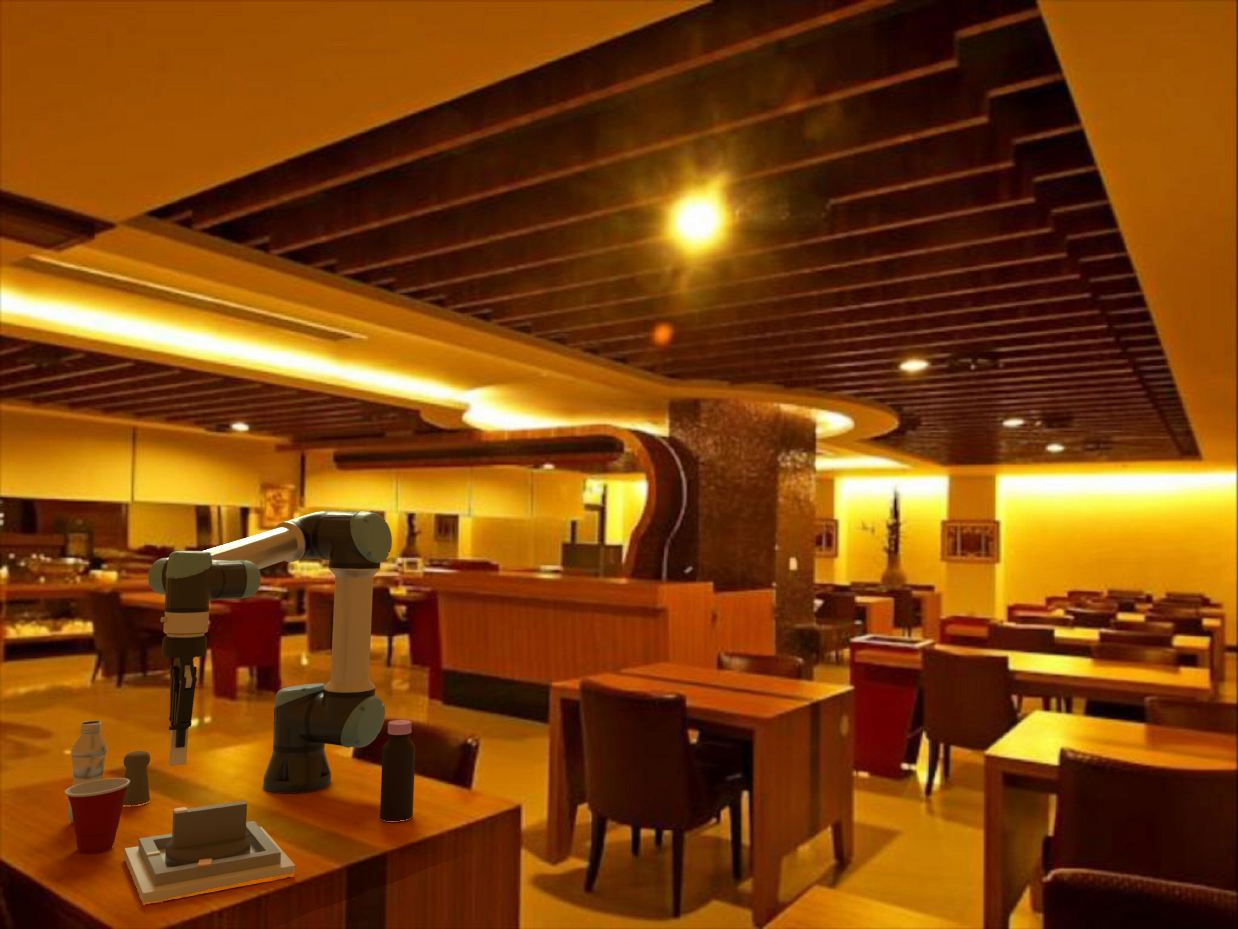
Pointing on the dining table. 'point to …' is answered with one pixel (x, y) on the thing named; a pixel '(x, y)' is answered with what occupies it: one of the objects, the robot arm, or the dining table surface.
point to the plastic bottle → (88, 755)
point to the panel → (199, 883)
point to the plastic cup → (97, 812)
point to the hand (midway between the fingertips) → (177, 764)
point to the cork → (137, 777)
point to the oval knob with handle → (208, 833)
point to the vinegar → (397, 773)
